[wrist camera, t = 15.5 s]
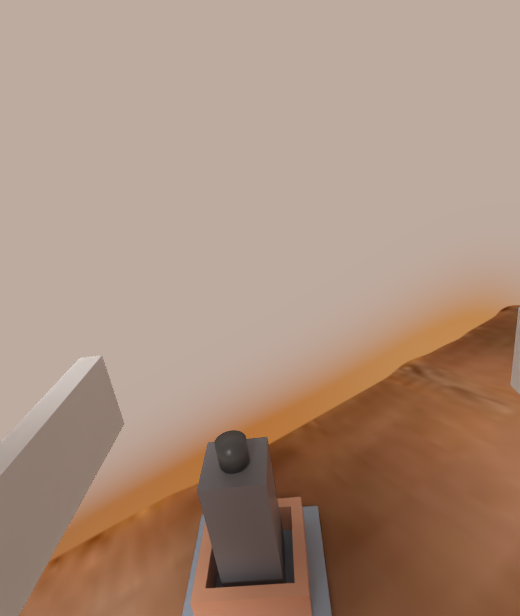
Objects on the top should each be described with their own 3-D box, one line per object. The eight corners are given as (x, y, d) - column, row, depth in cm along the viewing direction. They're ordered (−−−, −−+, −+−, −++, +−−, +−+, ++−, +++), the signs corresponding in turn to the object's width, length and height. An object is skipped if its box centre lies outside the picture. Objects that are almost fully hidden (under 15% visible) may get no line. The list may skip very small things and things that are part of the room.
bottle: (284, 540, 37) (263, 417, 32) (286, 596, 32) (262, 462, 27) (231, 544, 37) (203, 423, 32) (225, 600, 32) (191, 468, 27)
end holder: (318, 512, 40) (315, 482, 39) (336, 651, 29) (332, 616, 28) (203, 521, 41) (196, 492, 40) (177, 659, 30) (165, 626, 28)
